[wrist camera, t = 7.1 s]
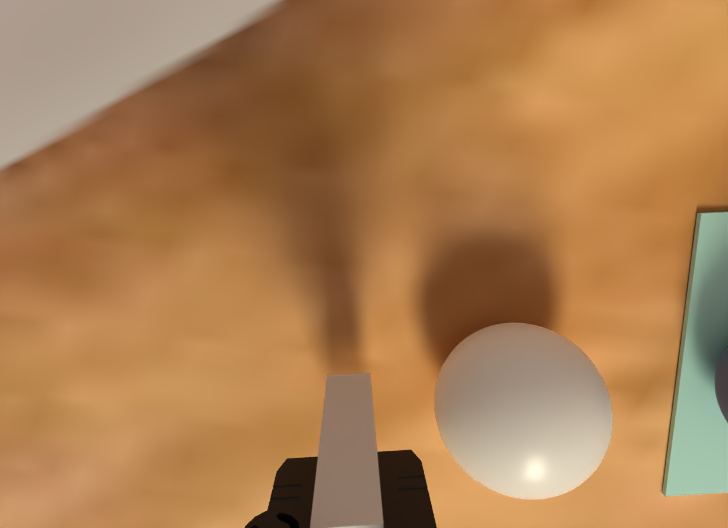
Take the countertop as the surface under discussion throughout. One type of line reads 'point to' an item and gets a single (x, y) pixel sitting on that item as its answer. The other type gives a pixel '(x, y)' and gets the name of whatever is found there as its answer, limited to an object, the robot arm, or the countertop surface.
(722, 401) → the object ball
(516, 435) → the cue ball
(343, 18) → the countertop surface
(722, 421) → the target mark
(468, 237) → the countertop surface
